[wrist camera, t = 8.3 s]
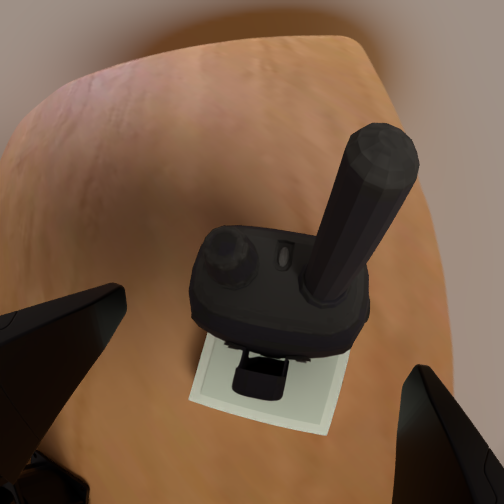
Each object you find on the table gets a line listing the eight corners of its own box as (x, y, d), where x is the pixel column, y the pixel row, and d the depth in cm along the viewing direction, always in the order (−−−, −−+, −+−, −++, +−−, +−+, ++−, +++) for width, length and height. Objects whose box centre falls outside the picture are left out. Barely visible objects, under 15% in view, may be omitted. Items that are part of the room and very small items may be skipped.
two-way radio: (334, 306, 17) (496, 94, 3) (320, 384, 15) (508, 494, 1) (238, 288, 17) (101, 54, 3) (221, 365, 16) (-34, 359, 2)
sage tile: (201, 394, 19) (187, 400, 16) (242, 254, 22) (235, 237, 19) (320, 424, 17) (327, 436, 14) (355, 280, 20) (366, 266, 17)
